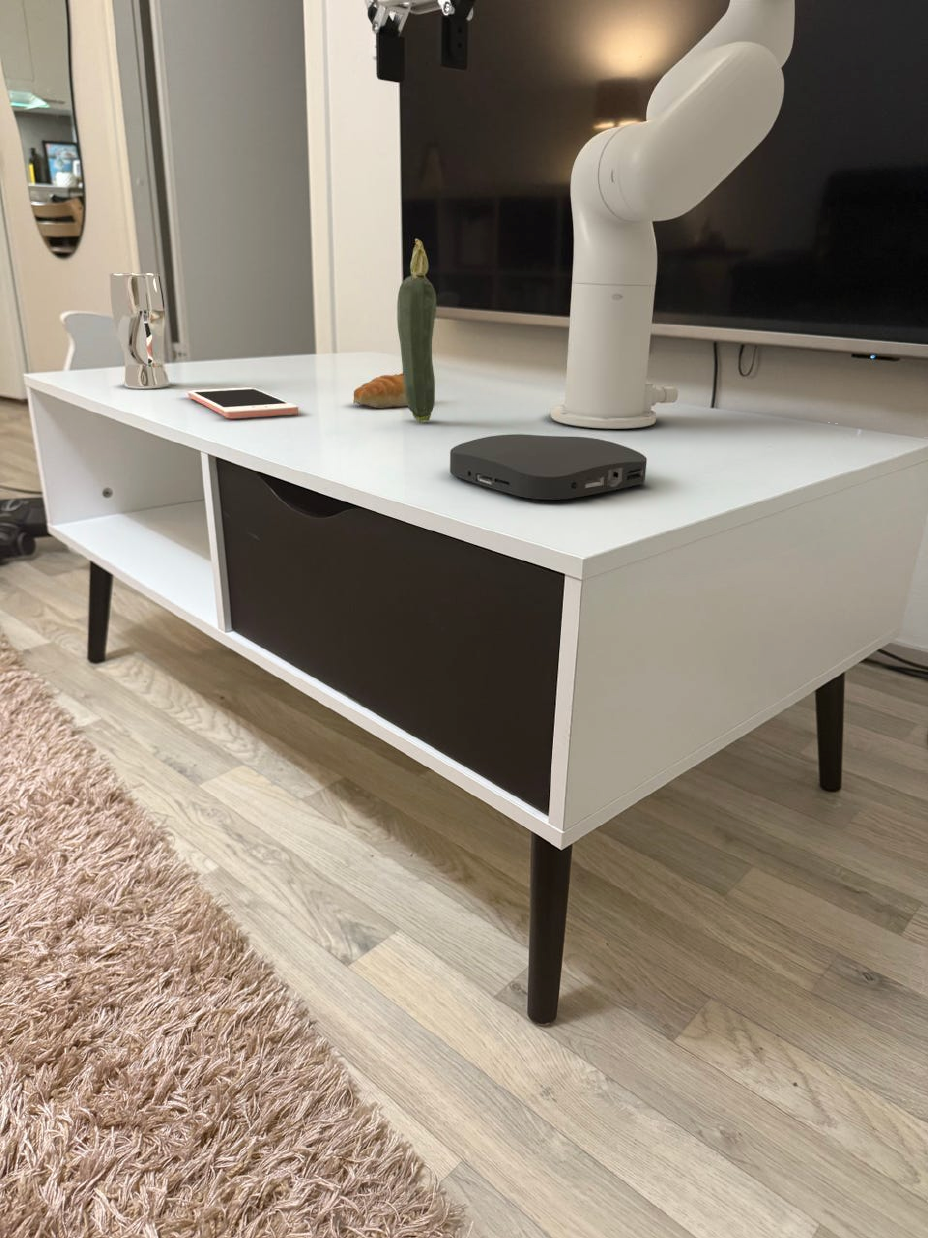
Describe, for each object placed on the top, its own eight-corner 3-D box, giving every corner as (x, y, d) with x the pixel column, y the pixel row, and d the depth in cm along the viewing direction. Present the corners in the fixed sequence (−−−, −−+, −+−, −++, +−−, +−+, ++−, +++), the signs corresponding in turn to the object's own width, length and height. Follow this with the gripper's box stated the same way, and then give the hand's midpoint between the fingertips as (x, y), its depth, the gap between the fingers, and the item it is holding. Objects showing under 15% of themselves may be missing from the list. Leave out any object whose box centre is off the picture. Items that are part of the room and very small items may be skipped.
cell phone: (227, 419, 105) (226, 411, 104) (187, 397, 119) (186, 390, 119) (299, 414, 109) (299, 406, 109) (252, 393, 123) (252, 386, 123)
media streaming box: (549, 455, 91) (550, 425, 89) (663, 484, 80) (666, 450, 79) (432, 473, 82) (432, 440, 81) (542, 509, 71) (544, 472, 70)
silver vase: (111, 388, 126) (97, 273, 121) (136, 381, 133) (124, 272, 127) (158, 390, 125) (146, 274, 120) (181, 383, 132) (170, 273, 126)
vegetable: (430, 427, 104) (431, 238, 96) (393, 425, 104) (391, 237, 97) (439, 420, 108) (440, 238, 100) (403, 418, 108) (402, 238, 101)
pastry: (376, 411, 113) (376, 380, 111) (340, 405, 117) (339, 375, 115) (427, 403, 119) (427, 373, 118) (391, 398, 123) (391, 369, 122)
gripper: (516, -158, 79) (508, 69, 85) (396, -107, 91) (397, 89, 97) (450, -185, 74) (447, 57, 81) (333, -127, 86) (339, 80, 93)
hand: (420, 74), depth 89 cm, fingers open, 9 cm apart
